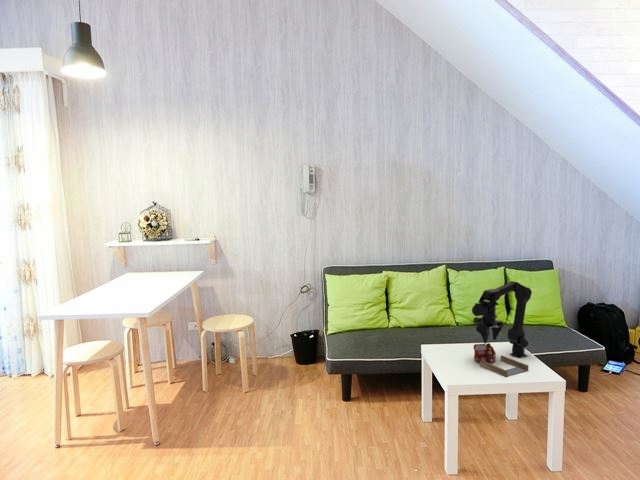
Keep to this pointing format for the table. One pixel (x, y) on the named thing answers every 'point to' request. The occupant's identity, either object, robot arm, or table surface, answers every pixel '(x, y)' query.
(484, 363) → the walnut channel
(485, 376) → the table surface
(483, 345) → the toy fire truck
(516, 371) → the pad
